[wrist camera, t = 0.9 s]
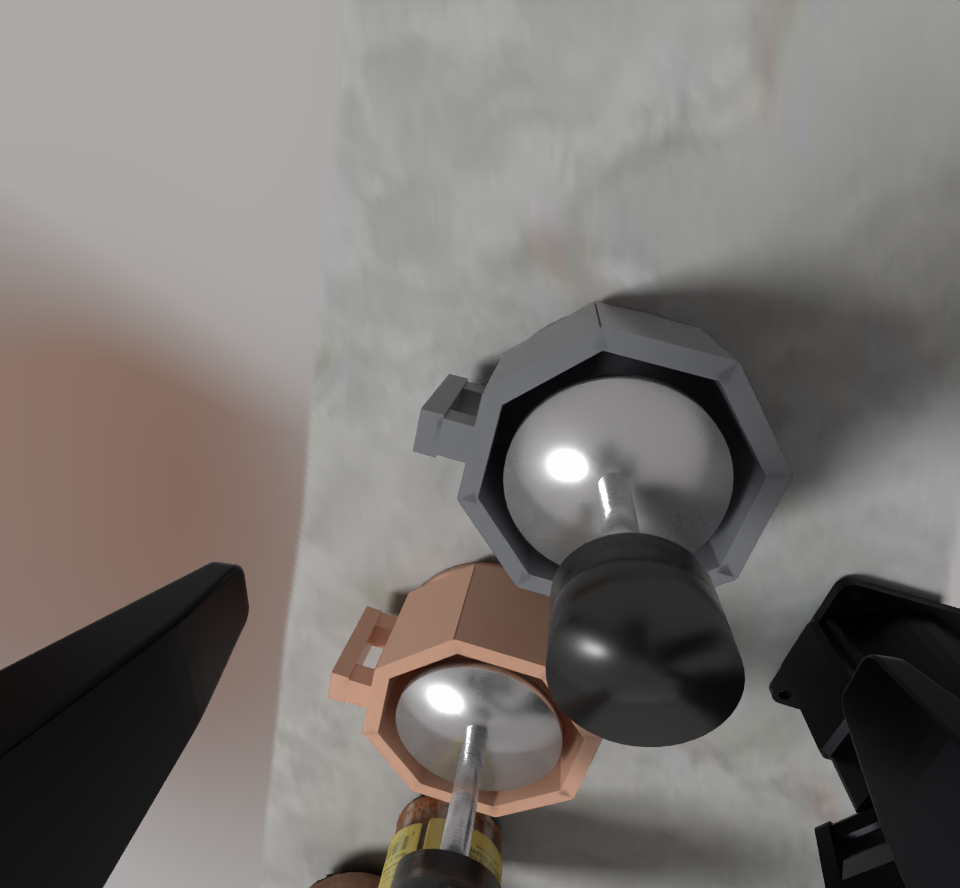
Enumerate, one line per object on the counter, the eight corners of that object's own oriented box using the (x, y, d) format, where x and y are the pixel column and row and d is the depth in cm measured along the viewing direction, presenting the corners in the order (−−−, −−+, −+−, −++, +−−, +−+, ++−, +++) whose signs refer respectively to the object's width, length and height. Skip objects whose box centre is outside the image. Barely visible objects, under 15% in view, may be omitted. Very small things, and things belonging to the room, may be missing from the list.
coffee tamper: (768, 408, 14) (948, 585, 7) (678, 592, 17) (749, 846, 10) (536, 347, 15) (502, 461, 8) (484, 536, 17) (425, 744, 10)
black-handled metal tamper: (584, 689, 19) (589, 951, 12) (537, 797, 22) (519, 1062, 15) (413, 637, 19) (326, 865, 13) (388, 750, 22) (304, 987, 15)
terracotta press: (615, 595, 22) (626, 690, 18) (558, 728, 26) (555, 836, 22) (385, 528, 23) (339, 604, 19) (361, 668, 27) (317, 760, 22)
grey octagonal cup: (771, 344, 18) (840, 387, 13) (675, 550, 21) (703, 641, 17) (475, 268, 18) (442, 284, 14) (430, 481, 22) (392, 550, 17)
